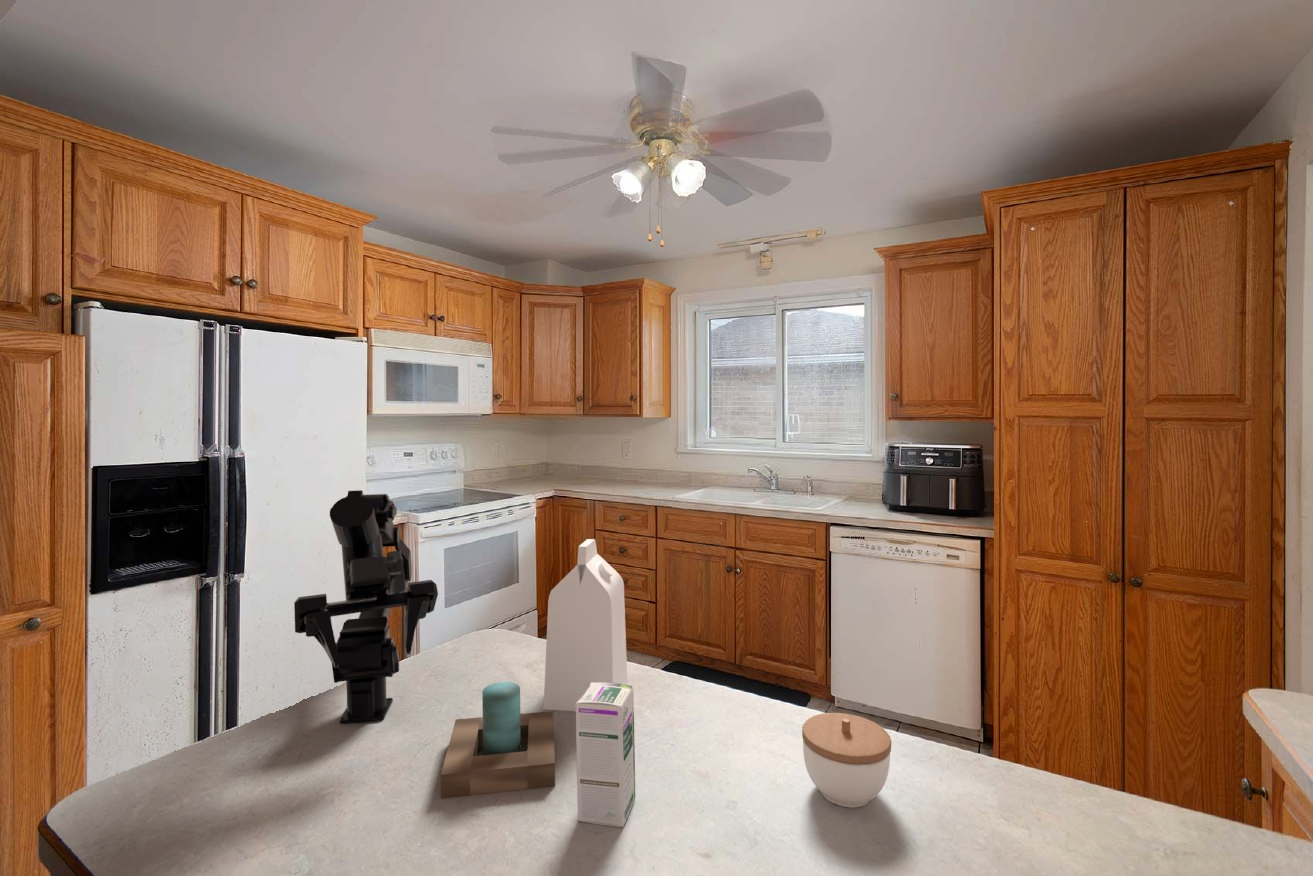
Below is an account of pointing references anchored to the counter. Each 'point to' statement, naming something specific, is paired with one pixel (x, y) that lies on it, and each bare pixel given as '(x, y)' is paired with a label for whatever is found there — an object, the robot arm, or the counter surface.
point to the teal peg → (501, 718)
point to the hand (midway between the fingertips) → (373, 659)
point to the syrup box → (605, 754)
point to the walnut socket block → (499, 759)
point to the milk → (584, 631)
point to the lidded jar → (846, 757)
